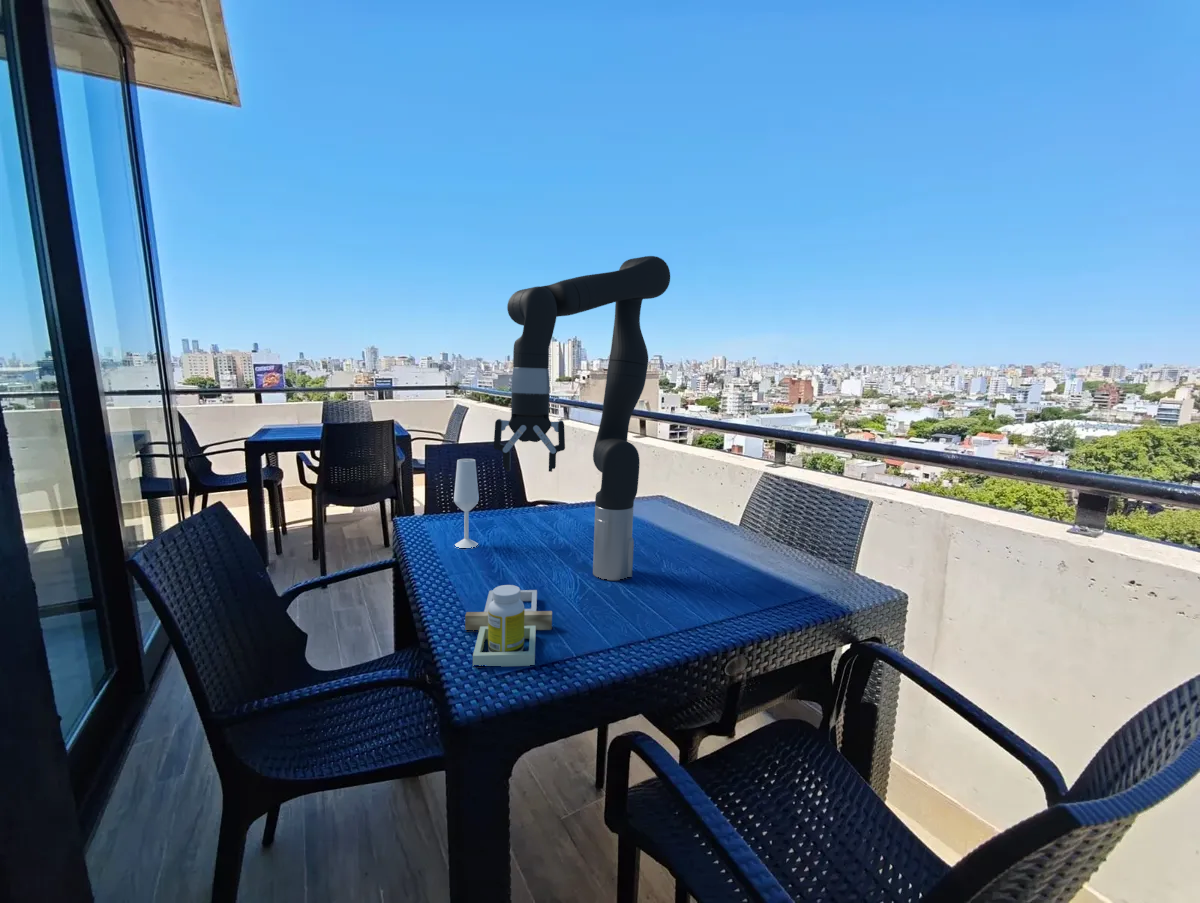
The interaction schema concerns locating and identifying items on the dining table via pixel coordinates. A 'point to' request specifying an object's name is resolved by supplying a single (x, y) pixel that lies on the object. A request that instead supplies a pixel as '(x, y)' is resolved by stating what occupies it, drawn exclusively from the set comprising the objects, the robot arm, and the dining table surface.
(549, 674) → the dining table surface
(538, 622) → the edge strip
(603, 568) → the robot arm
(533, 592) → the keeper
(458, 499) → the champagne flute
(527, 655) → the keeper
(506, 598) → the pill bottle
